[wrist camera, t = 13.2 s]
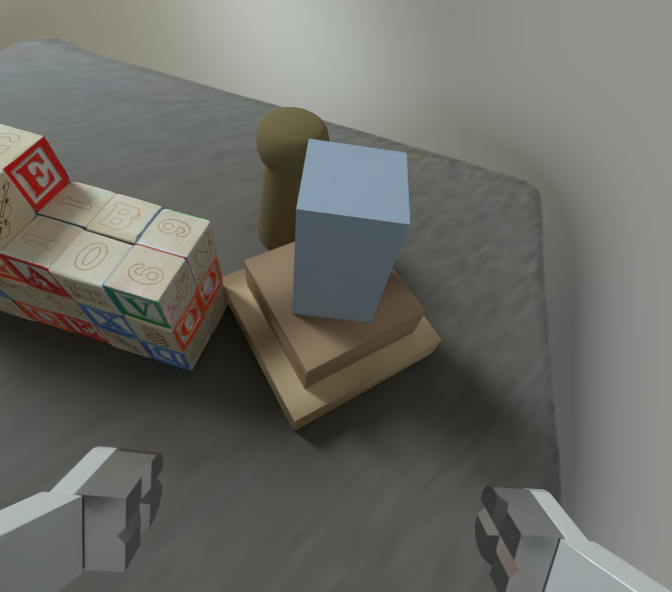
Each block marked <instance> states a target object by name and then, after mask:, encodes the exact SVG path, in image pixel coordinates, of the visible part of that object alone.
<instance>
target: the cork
mask: <svg viewBox="0 0 672 592" xmlns="http://www.w3.org/2000/svg"><path fill="white" fill-rule="evenodd" d="M309 139H315V140H321V141H328V142H330V141H329V135H328V131H327V128H326V126H325V124H324V123H323V121H322V120H321V119H320V118H319V117H318V116H317V115H315V114H314V113H312V112H309V111H307V110H305V109H301V108H295V107H285V108H280V109H276V110H273V111H271V112H269V113H268V114H267V115H266V116H264V117H263V119H262V121H261V122H260V124H259V126H258V129H257V133H256V140H257V150H258V153H259V156H260V158H261V160H262V161H263V163H264V164H265V166H264V175H263V184H262V193H261V203H260V212H259V221H258V236H259V238H260V240H261V242H262V244H263V245H264V246H266V247H267V248H268V249H269V250H273V249H276V248H279V247H282V246H284V245H287V244H290V243H293V242H295V228H296V207H297V202H298V196H299V191H300V185H301V180H302V174H303V169H304V163H305V157H306V152H307V146H308V141H309Z"/></svg>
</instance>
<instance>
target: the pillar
mask: <svg viewBox="0 0 672 592" xmlns="http://www.w3.org/2000/svg"><path fill="white" fill-rule="evenodd" d="M409 226H410V213H409V194H408V174H407V155H406V153H403V152H397V151H390V150H383V149H376V148H369V147H362V146H356V145H349V144H342V143H335V142H328V141H321V140H315V139H309V141H308V146H307V152H306V157H305V163H304V169H303V174H302V180H301V185H300V191H299V196H298V202H297V207H296V228H295V253H294V279H293V305H292V314H298V315H306V316H315V317H323V318H331V319H340V320H348V321H357V322H365V323H371V321H372V319H373V316H374V314H375V311H376V309H377V306H378V304H379V301H380V299H381V296H382V294H383V291H384V289H385V286H386V284H387V281H388V279H389V276H390V274H391V271H392V268H393V266H394V263H395V261H396V258H397V256H398V253H399V251H400V248H401V246H402V243H403V241H404V238H405V236H406V233H407V231H408V228H409Z"/></svg>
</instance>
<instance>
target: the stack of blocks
mask: <svg viewBox="0 0 672 592" xmlns="http://www.w3.org/2000/svg"><path fill="white" fill-rule="evenodd" d="M216 255H217V248H216V244H215V240H214V235H213V231H212V226H211V223H210V221H208V220H206V219H202V218H198V217H195V216H191V215H187V214H184V213H181V212H177V211H173V210H170V209H163V207H161V206H159V205H155V204H152V203H148V202H145V201H142V200H138V199H135V198H131V197H128V196H124V195H120V194H116V193H114V192H111V191H108V190H104V189H101V188H97V187H93V186H89V185H86V184H82V183H76V182H72V183H71V182H70V179H69V176H68V175H67V173H66V171H65V169H64V168H63V167H62V165H61V163H60V162H59V160H58V158H57V156H56V155H55V153H54V152H53V150H52V148H51V147H50V145H49V143H48V142H47V140H46V139H45V137H44V136H41V135H38V134H34V133H31V132H27V131H24V130H20V129H16V128H13V127H9V126H5V125H2V124H0V310H1V311H3V312H6V313H9V314H12V315H15V316H18V317H21V318H24V319H28V320H30V321H39V322H42V323H45V324H48V325H52V326H54V327H57V328H60V329H63V330H67V331H70V332H76V333H79V334H82V335H84V336H87V337H90V338H93V339H97V340H100V341H103V342H106V343H109V344H111V345H112V346H114V347H116V348H119V349H123V350H126V351H128V352H132V353H135V354H138V355H141V356H144V357H147V358H153V359H155V360H158V361H160V362H164V363H166V364H170V365H173V366H176V367H179V368H182V369H185V370H189V371H192V370H193V368H194V366H195V364H196V363H197V361H198V359H199V357H200V355H201V353H202V351H203V350H204V348H205V346H206V344H207V342H208V340H209V339H210V336H211V335H212V334H213V332H214V330H215V328H216V326H217V325H218V323H219V321H220V319H221V317H222V315H223V313H224V311H225V309H226V307H227V304H228V301H227V297H226V293H225V289H224V285H223V278H222V274H221V270H220V266H219V262H218V259H217V256H216Z"/></svg>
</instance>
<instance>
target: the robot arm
mask: <svg viewBox="0 0 672 592" xmlns="http://www.w3.org/2000/svg"><path fill="white" fill-rule="evenodd" d="M162 469H163V456H162V455H161V454H160V453H154V452H146V451H138V450H130V449H121V448H120V449H118V448H111V447H102V446H98V447H95V448H93V449H92V450H91V451H90V452H89V453H88V454H87V455H86V456H85V457H84V458H83V459H82V460H81V461H80V462H79V463H78V464H77V465H76V466H75V467H74V468H73V469H72V470H71V471H70V472H69V473H68V474H67V475H66V476H65V477H64V478H63V479H62V480H61V481H60V482H59V483H58V484H57V485H56V486H55V487H54V488H53V489H52V490H51V491H50V492H41V493H38V494H36V495H34V496H32V497H29V498H27V499H25V500H23V501H20V502H18V503H16V504H14V505H11V506H9V507H7V508H5V509H2V510H0V592H58V591H59V590H61V589H62V588H63V587H65V586H66V585H67V584H68V583H70V582H71V581H72V580H74V579H75V578H76V577H77V576H79V575H80V574H81V573H82V572H83V570H96V571H116V572H125V571H126V569H127V567H128V565H129V563H130V562H131V560H132V558H133V556H134V555H135V553H136V551H137V549H138V548H139V546H140V534H141V533H143V532H144V531H146V530H147V529H149V528H150V526H151V524H152V522H153V520H154V518H155V516H156V513H157V510H158V507H159V504H160V499H161V492H162V484H161V483H160V481H159V480H158V478H157V477H158V475H159V474H160V472H161V470H162ZM481 500H482V502H483V504H484V506H485V508H483V509H482V510H481V511H480V512H479V513H478V514H477V518H476V523H475V538H476V542H477V546H478V549H479V551H480V554H481V556H482V558H483V559H485V560H486V561H487V562H488V563H489V564H490V565H491V566H492V568H491V572H490V576H491V578H492V580H493V582H494V585H495V587H496V589H497V591H498V592H671V591H669V590H668V589H666V588H664V587H663V586H662V585H660V584H658V583H657V582H655V581H654V580H652V579H651V578H649V577H648V576H646V575H645V574H643V573H641V572H640V571H639V570H637V569H635V568H634V567H632V566H631V565H629V564H628V563H626V562H625V561H623V560H622V559H620V558H619V557H617V556H615V555H614V554H613V553H611V552H609V551H608V550H606V549H605V548H603V547H602V546H600V545H599V544H597V543H596V542H589V541H588V540H587V539H586V537H585V536H584V535H583V534H582V532H581V531H580V530H579V529H578V527H577V526H576V525H575V524H574V523H573V521H572V520H571V519H570V517H569V516H568V515H567V514H566V513H565V511H564V510H563V509H562V508H561V506H560V505H559V504H558V503H557V501H556V500H555V499H554V498H553V496H552V495H551V494H550V493H549V492H547V491H546V490H543V489H528V488H525V489H519V488H508V487H497V486H486V487H485V489H484V490H483V493H482V497H481Z"/></svg>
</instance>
